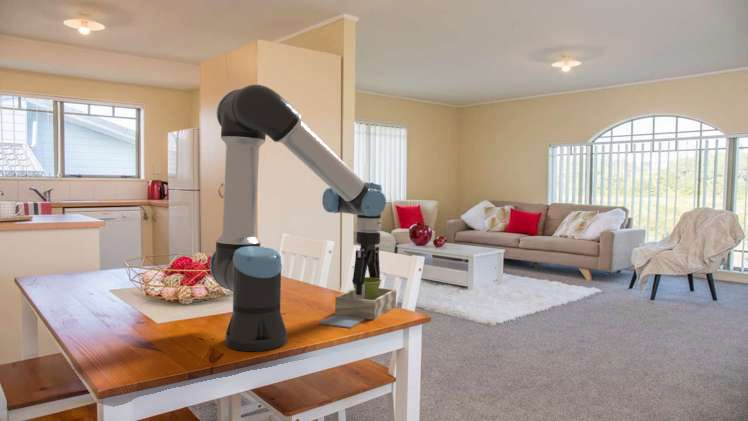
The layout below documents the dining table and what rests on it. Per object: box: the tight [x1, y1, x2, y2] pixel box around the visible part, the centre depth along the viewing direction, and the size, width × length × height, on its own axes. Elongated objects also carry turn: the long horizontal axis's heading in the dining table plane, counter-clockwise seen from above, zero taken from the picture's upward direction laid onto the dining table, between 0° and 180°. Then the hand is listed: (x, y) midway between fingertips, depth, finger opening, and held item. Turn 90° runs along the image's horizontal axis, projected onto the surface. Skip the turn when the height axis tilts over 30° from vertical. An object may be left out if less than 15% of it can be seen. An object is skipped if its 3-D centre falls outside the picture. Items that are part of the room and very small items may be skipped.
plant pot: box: [351, 276, 382, 300], centre depth 167 cm, size 9×9×9 cm
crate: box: [334, 287, 397, 320], centre depth 167 cm, size 19×13×6 cm
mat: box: [318, 314, 366, 329], centre depth 153 cm, size 10×10×1 cm
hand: (365, 301), depth 167 cm, fingers closed on plant pot, 9 cm apart
